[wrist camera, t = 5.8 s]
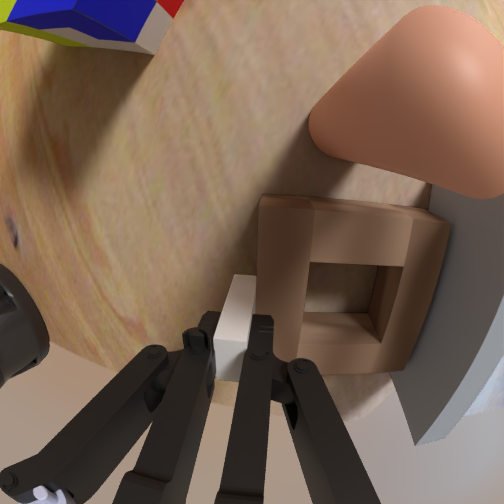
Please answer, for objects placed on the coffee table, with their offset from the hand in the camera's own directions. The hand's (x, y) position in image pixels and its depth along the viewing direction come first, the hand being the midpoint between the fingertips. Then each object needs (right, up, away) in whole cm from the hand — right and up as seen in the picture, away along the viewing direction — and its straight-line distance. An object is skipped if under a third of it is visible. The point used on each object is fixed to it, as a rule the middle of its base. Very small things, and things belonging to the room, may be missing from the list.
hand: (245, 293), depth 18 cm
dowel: (+6, +11, -2) cm, 13 cm away
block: (+7, +1, +2) cm, 7 cm away
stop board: (+15, 0, +2) cm, 15 cm away
